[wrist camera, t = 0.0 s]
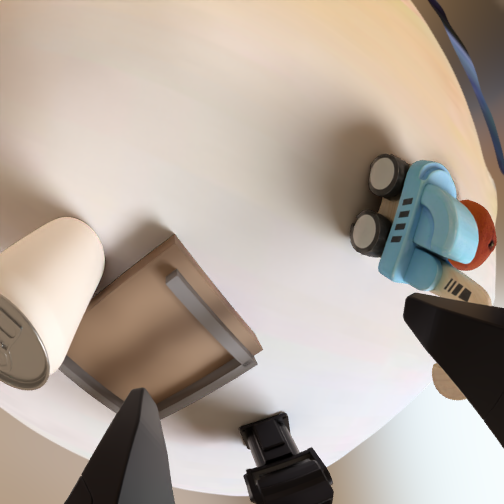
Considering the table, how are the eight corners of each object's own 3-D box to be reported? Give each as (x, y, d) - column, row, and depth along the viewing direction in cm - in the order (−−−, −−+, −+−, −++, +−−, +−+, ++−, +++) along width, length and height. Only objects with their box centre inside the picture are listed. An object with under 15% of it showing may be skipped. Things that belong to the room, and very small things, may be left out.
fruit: (420, 228, 27) (473, 250, 20) (452, 182, 27) (502, 194, 20) (436, 273, 31) (479, 296, 24) (466, 229, 31) (507, 245, 24)
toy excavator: (321, 306, 26) (440, 428, 11) (372, 143, 22) (547, 164, 7) (378, 310, 29) (482, 397, 14) (423, 174, 25) (558, 210, 10)
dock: (254, 333, 25) (267, 358, 22) (135, 406, 24) (134, 431, 21) (174, 233, 20) (175, 249, 17) (50, 335, 19) (38, 359, 16)
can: (27, 259, 17) (-51, 338, 6) (63, 198, 17) (-34, 245, 6) (81, 306, 20) (38, 413, 9) (121, 251, 19) (79, 349, 8)
